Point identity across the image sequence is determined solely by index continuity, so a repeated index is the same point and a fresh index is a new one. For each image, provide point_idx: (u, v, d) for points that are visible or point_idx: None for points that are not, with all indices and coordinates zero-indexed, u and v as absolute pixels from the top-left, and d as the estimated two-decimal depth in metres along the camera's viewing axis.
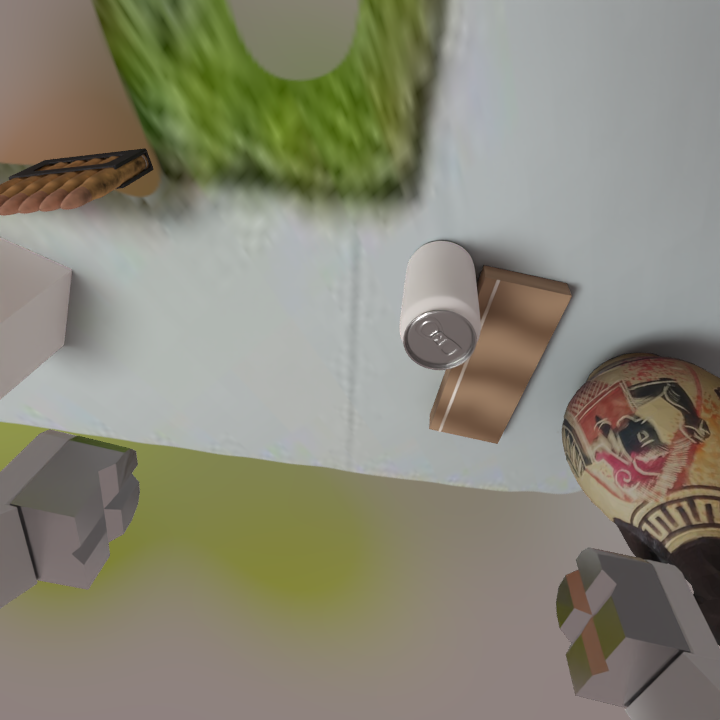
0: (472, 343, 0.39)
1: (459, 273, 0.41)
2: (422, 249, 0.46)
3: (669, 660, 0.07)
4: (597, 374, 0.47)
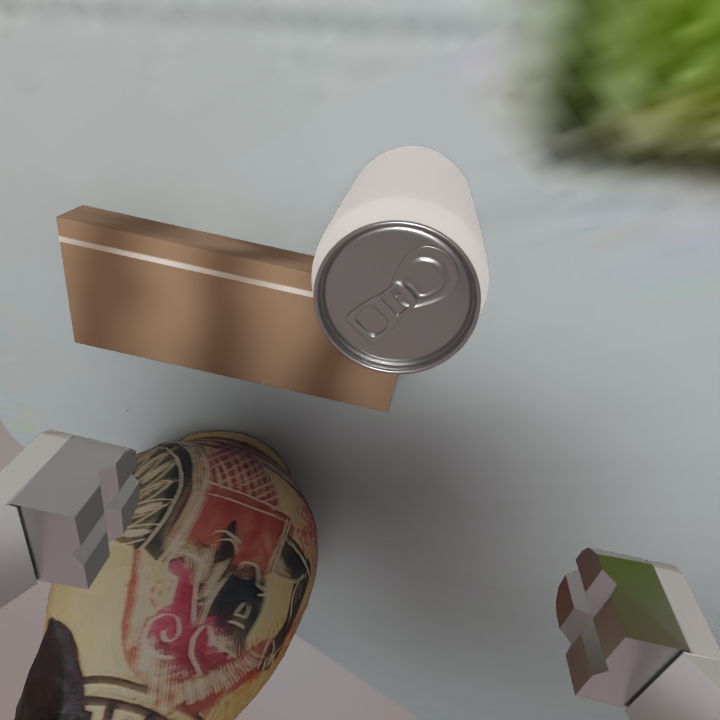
0: (387, 363, 0.18)
1: None
2: (465, 180, 0.25)
3: (669, 660, 0.07)
4: (274, 470, 0.32)
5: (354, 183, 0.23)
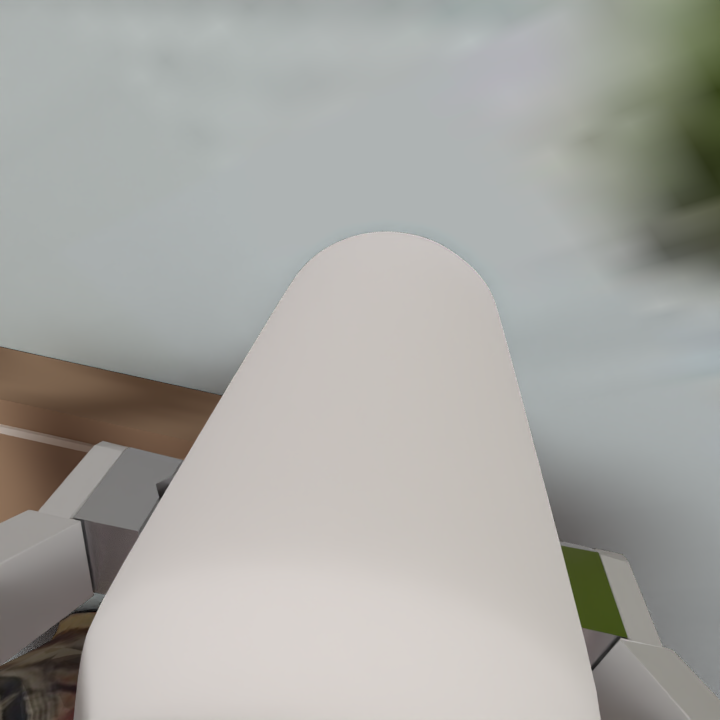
0: None
1: None
2: (491, 298, 0.13)
3: (607, 646, 0.07)
4: None
5: (265, 327, 0.11)
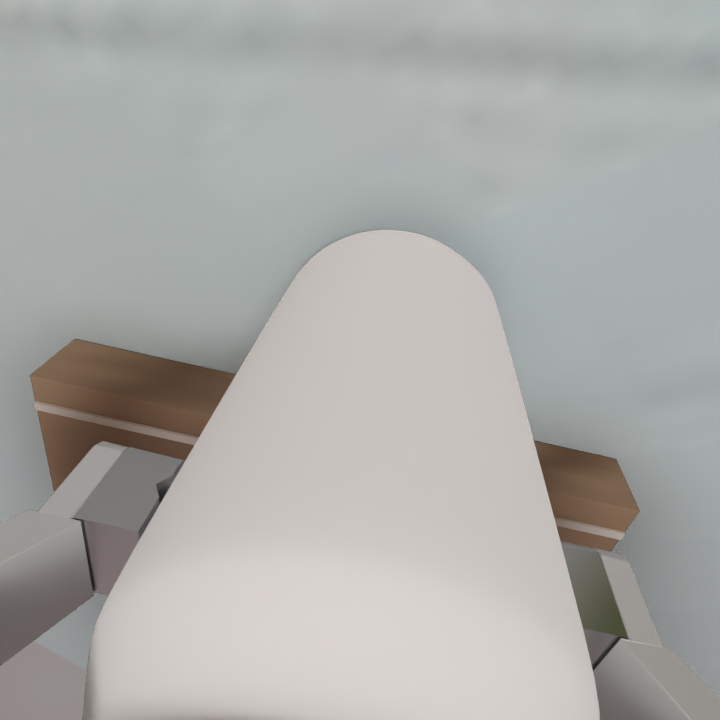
0: None
1: None
2: (490, 296, 0.13)
3: (607, 646, 0.07)
4: None
5: (267, 325, 0.11)
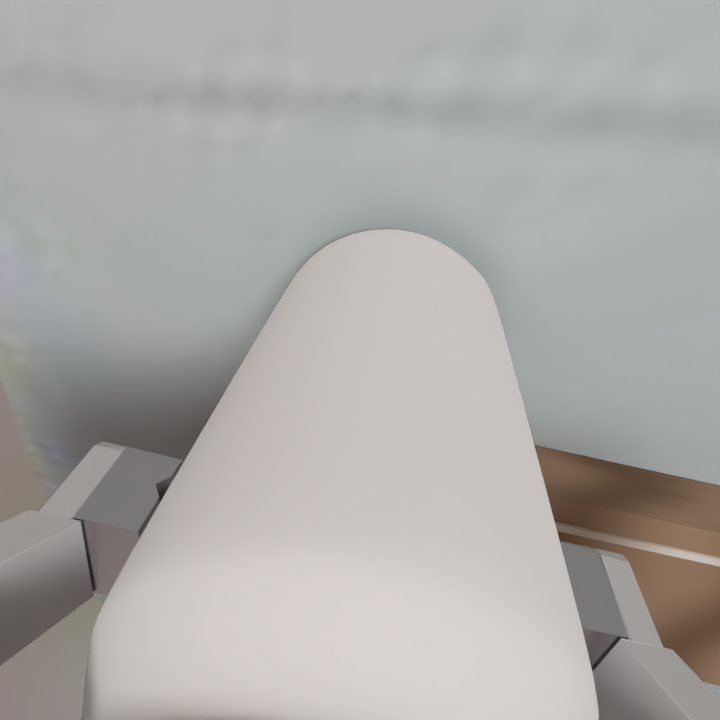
0: None
1: None
2: (489, 295, 0.13)
3: (607, 647, 0.07)
4: None
5: (267, 325, 0.11)
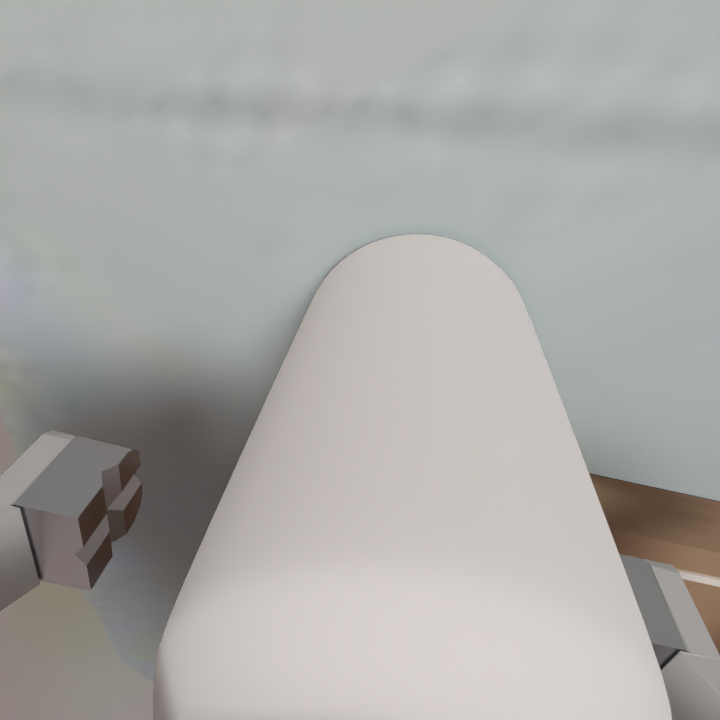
0: None
1: None
2: (521, 301, 0.13)
3: (665, 659, 0.07)
4: None
5: (304, 330, 0.11)
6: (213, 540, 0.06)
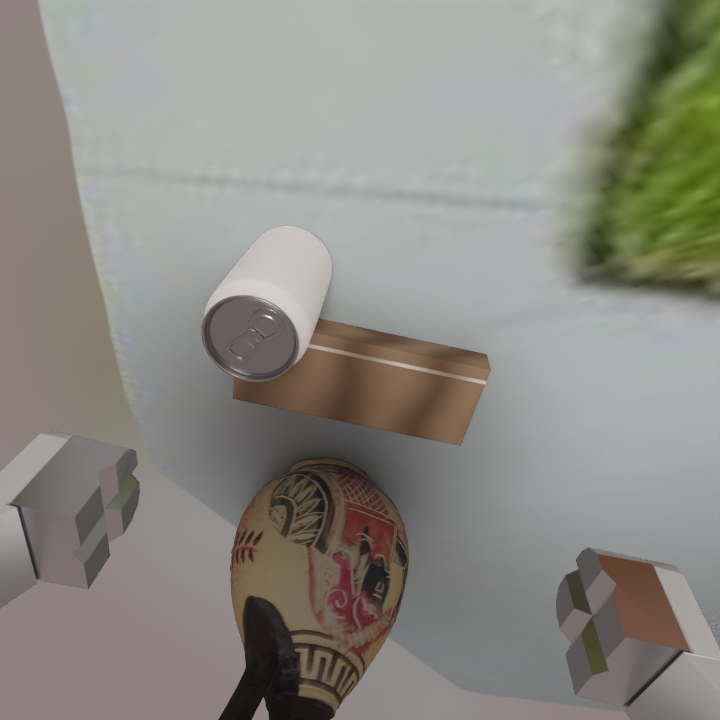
0: (253, 375, 0.30)
1: None
2: (322, 248, 0.37)
3: (669, 660, 0.07)
4: (378, 489, 0.44)
5: None
6: None
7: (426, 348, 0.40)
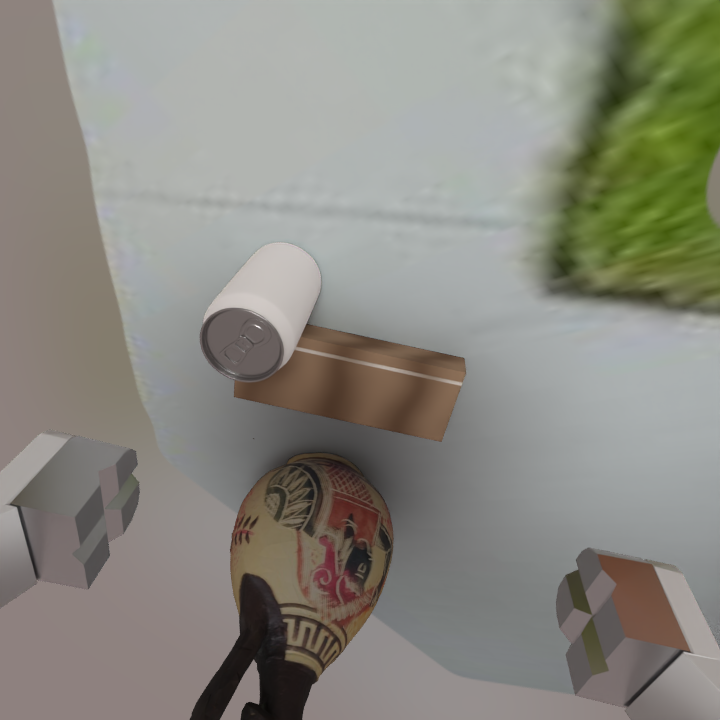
0: (245, 376, 0.34)
1: (305, 325, 0.38)
2: (311, 262, 0.41)
3: (669, 660, 0.07)
4: (365, 480, 0.48)
5: None
6: None
7: (407, 352, 0.44)
